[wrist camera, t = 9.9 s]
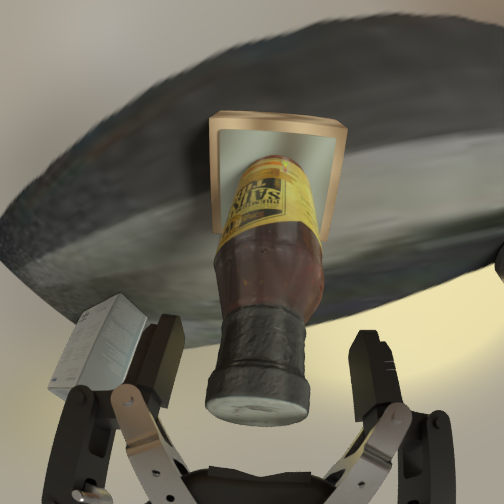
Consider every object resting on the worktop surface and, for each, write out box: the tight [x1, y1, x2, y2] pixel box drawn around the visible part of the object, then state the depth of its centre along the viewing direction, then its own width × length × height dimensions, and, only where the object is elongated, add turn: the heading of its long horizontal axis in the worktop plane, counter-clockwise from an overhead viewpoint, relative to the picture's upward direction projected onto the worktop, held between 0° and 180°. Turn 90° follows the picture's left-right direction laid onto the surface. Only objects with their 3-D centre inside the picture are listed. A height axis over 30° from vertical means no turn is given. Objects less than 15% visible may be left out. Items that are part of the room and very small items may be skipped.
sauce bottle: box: [205, 155, 324, 427], centre depth 17 cm, size 6×6×20 cm
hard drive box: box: [48, 293, 147, 401], centre depth 40 cm, size 16×8×20 cm, turn 122°
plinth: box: [209, 111, 348, 242], centre depth 27 cm, size 12×12×5 cm
